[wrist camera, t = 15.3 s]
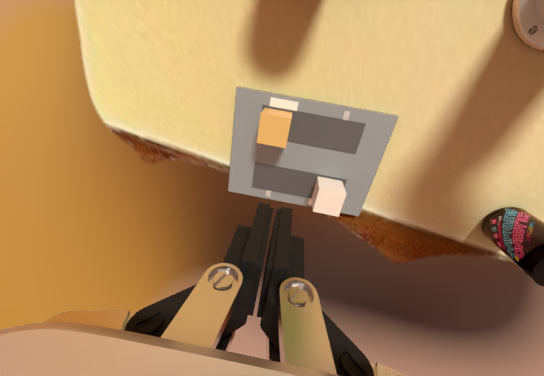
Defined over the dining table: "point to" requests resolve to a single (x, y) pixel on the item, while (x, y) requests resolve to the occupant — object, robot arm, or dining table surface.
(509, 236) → the supplement container
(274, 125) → the orange cube
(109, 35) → the dining table surface
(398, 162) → the dining table surface
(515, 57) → the dining table surface
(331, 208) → the pale pink cube
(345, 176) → the switch board
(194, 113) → the dining table surface
